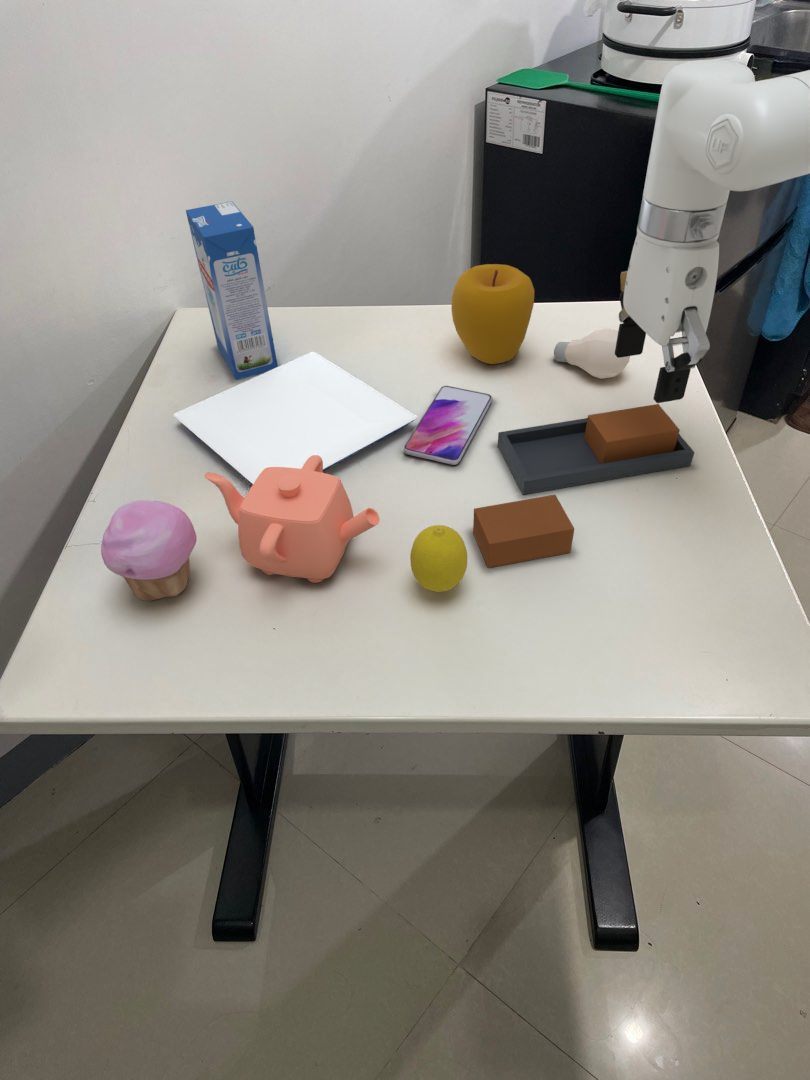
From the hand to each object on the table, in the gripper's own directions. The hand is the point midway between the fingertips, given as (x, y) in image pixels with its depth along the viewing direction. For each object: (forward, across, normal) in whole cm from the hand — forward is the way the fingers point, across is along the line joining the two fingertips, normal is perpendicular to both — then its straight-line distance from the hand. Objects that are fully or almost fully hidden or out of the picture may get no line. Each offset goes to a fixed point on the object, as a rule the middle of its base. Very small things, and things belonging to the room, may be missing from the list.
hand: (647, 376), depth 81 cm
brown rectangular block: (+10, +1, 0) cm, 10 cm away
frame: (+10, +1, +5) cm, 11 cm away
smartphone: (+10, +11, +20) cm, 25 cm away
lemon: (+11, -15, +28) cm, 33 cm away
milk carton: (+10, +35, +44) cm, 57 cm away
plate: (+10, +16, +39) cm, 43 cm away
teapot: (+10, -7, +41) cm, 43 cm away
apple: (+10, +26, +10) cm, 29 cm away
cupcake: (+10, -8, +55) cm, 56 cm away
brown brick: (+10, -11, +18) cm, 24 cm away
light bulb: (+10, +19, -2) cm, 21 cm away
